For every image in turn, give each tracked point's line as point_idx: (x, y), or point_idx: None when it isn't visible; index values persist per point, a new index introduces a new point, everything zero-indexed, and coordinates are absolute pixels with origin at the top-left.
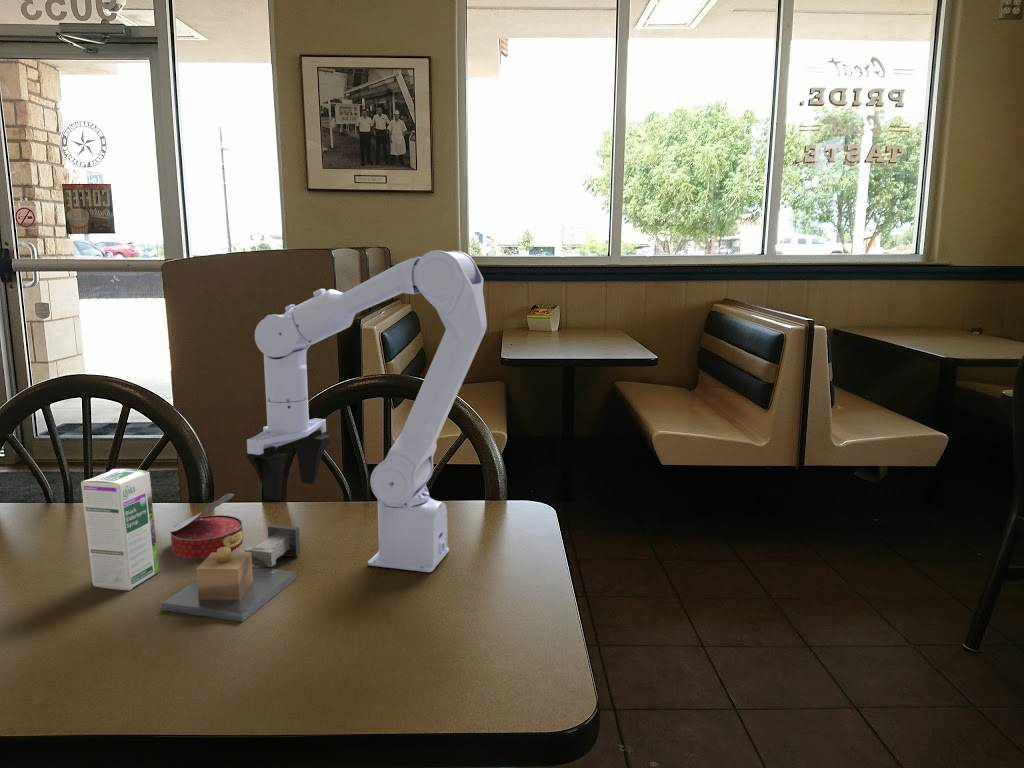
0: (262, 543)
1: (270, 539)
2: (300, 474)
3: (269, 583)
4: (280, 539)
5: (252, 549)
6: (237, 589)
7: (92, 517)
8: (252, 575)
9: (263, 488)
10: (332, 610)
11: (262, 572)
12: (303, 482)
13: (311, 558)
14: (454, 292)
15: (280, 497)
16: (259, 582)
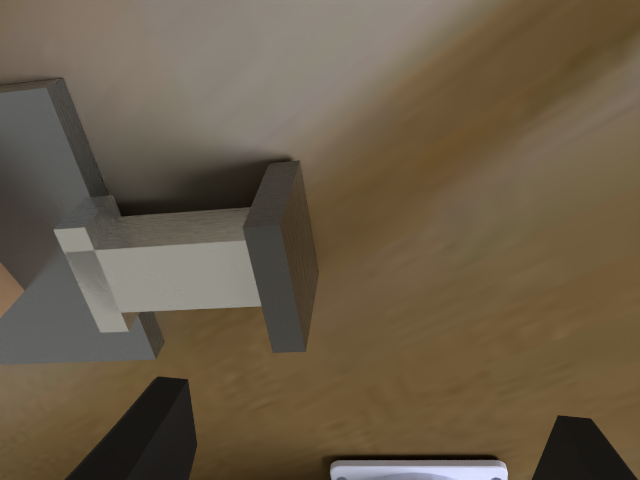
0: (144, 257)
1: (198, 260)
2: (586, 469)
3: (50, 338)
4: (220, 296)
5: (76, 256)
6: None
7: None
8: (10, 306)
9: (112, 431)
10: None
11: None
12: (552, 433)
13: (316, 310)
14: None
15: (193, 454)
16: (35, 310)
